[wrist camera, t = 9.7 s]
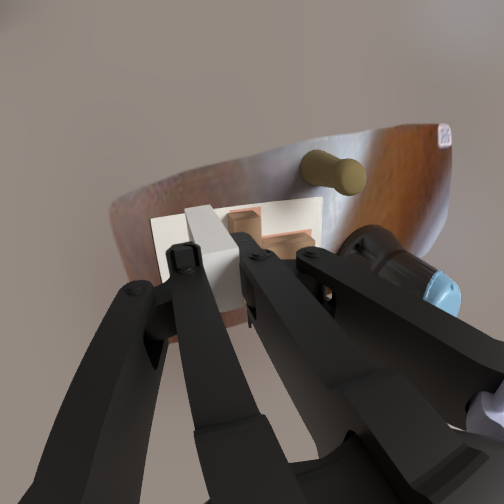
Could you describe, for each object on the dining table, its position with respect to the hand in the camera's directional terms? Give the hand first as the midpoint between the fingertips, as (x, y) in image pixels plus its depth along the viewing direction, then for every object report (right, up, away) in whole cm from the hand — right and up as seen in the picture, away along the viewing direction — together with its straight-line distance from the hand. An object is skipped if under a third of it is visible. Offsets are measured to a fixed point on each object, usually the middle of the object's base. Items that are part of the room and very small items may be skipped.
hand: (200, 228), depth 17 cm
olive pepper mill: (+14, +13, +29) cm, 35 cm away
